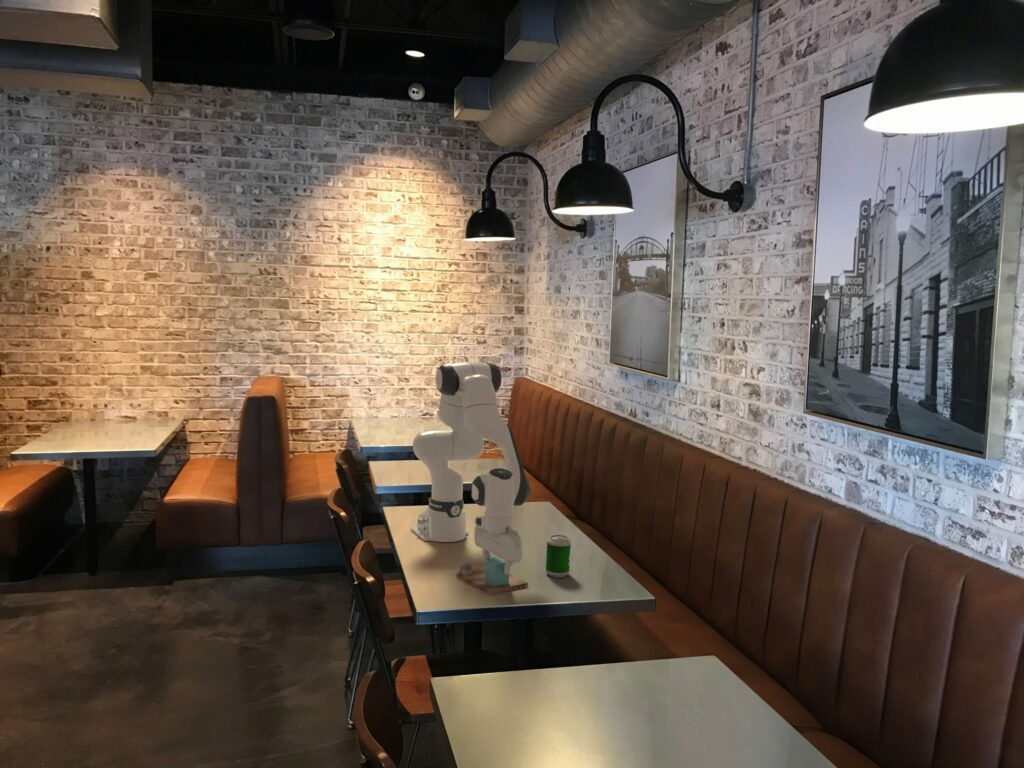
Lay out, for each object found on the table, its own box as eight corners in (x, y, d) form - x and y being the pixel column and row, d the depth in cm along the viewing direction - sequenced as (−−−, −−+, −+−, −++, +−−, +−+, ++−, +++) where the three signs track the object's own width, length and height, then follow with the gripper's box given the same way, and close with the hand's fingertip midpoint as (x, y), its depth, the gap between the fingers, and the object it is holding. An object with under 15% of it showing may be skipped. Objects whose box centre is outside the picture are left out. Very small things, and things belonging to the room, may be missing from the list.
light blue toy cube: (484, 581, 244) (485, 559, 243) (498, 578, 247) (499, 557, 246) (494, 586, 240) (495, 564, 239) (508, 583, 243) (509, 562, 242)
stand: (456, 576, 250) (457, 553, 249) (493, 569, 259) (494, 547, 258) (489, 594, 236) (490, 571, 235) (527, 586, 244) (528, 563, 243)
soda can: (567, 579, 252) (569, 542, 251) (543, 576, 253) (545, 539, 252) (570, 571, 259) (572, 535, 258) (547, 569, 261) (549, 533, 259)
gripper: (528, 531, 235) (526, 577, 237) (488, 514, 251) (486, 557, 253) (511, 534, 231) (508, 580, 233) (471, 516, 248) (469, 560, 249)
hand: (496, 568), depth 243 cm, fingers open, 8 cm apart
